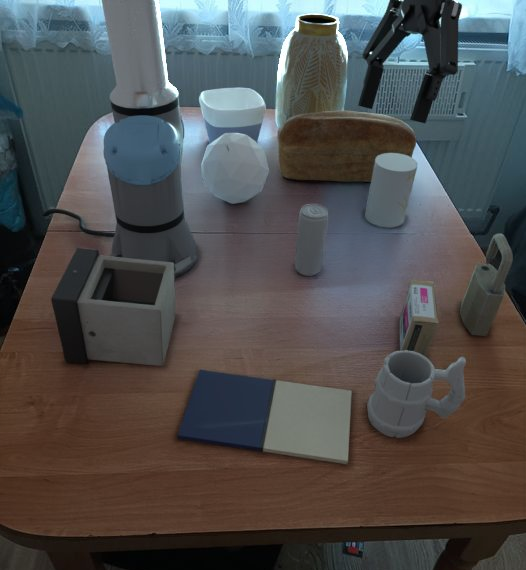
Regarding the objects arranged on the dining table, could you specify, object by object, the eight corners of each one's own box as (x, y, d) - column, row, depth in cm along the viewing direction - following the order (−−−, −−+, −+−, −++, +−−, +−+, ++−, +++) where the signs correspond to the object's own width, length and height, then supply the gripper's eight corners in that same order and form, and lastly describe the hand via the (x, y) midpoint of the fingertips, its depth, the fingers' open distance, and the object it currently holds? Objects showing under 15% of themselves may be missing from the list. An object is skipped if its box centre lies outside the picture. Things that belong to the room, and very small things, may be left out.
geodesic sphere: (264, 200, 104) (270, 123, 102) (190, 194, 105) (196, 117, 103) (267, 211, 119) (273, 144, 117) (203, 206, 119) (208, 139, 118)
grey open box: (163, 372, 79) (159, 308, 71) (65, 363, 79) (50, 298, 70) (175, 318, 88) (174, 256, 80) (87, 310, 88) (76, 246, 79)
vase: (268, 125, 146) (273, 9, 127) (329, 123, 148) (343, 9, 130) (281, 152, 133) (288, 29, 115) (347, 149, 136) (365, 28, 117)
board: (177, 438, 70) (177, 434, 69) (199, 373, 79) (199, 368, 78) (347, 464, 68) (348, 460, 67) (350, 394, 77) (351, 390, 76)
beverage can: (299, 279, 96) (305, 219, 88) (291, 263, 99) (296, 204, 91) (324, 275, 97) (333, 216, 89) (315, 260, 100) (323, 201, 92)
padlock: (480, 304, 93) (511, 228, 82) (491, 336, 87) (526, 258, 76) (456, 303, 93) (485, 226, 82) (466, 334, 87) (498, 256, 76)
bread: (411, 187, 123) (426, 128, 113) (276, 184, 122) (279, 123, 112) (401, 163, 131) (413, 106, 122) (274, 160, 130) (277, 102, 121)
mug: (363, 393, 77) (379, 331, 68) (447, 401, 76) (473, 339, 68) (366, 437, 71) (384, 374, 63) (456, 445, 71) (486, 383, 62)
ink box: (398, 319, 89) (410, 277, 83) (422, 322, 89) (435, 281, 83) (399, 362, 82) (411, 320, 76) (424, 365, 81) (439, 323, 76)
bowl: (195, 134, 139) (193, 89, 132) (252, 129, 143) (253, 85, 135) (209, 160, 129) (208, 112, 121) (270, 154, 133) (272, 107, 125)
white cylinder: (403, 229, 109) (417, 173, 101) (363, 224, 110) (374, 168, 102) (404, 210, 115) (417, 155, 107) (366, 205, 116) (376, 150, 108)
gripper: (520, -32, 73) (460, 132, 82) (399, -28, 91) (361, 106, 101) (484, -50, 69) (425, 124, 79) (366, -43, 87) (330, 98, 97)
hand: (389, 114), depth 90 cm, fingers open, 13 cm apart
